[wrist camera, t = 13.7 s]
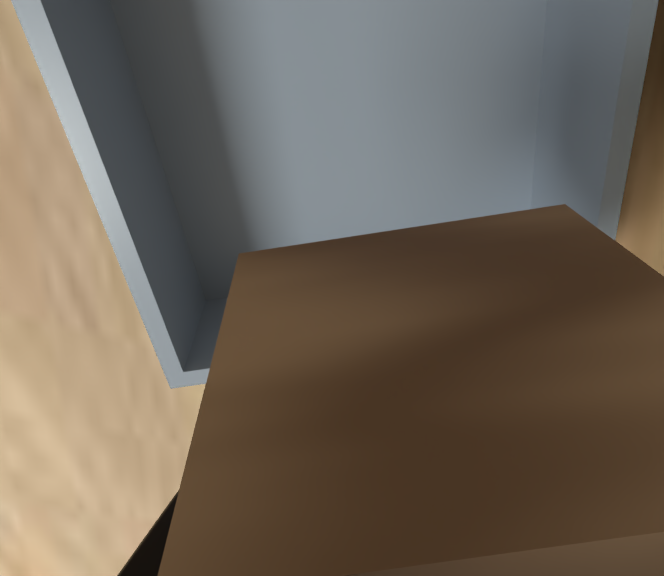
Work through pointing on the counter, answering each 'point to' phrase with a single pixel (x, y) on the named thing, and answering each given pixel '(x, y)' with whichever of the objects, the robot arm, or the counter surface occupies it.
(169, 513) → the robot arm
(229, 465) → the walnut cube
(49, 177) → the counter surface
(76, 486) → the counter surface
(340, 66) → the tote
